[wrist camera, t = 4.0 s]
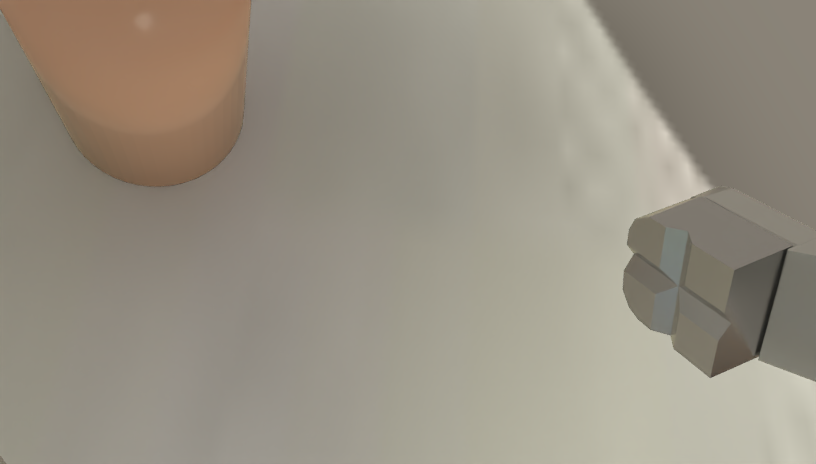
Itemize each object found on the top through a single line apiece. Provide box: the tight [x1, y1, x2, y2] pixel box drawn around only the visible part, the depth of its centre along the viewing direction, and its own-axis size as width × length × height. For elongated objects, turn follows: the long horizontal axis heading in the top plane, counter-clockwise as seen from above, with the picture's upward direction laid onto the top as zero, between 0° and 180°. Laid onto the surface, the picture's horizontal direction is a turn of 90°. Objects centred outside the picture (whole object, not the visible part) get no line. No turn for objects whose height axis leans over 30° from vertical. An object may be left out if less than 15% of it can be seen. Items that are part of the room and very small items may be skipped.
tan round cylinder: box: [0, 0, 251, 186], centre depth 15 cm, size 5×5×9 cm
